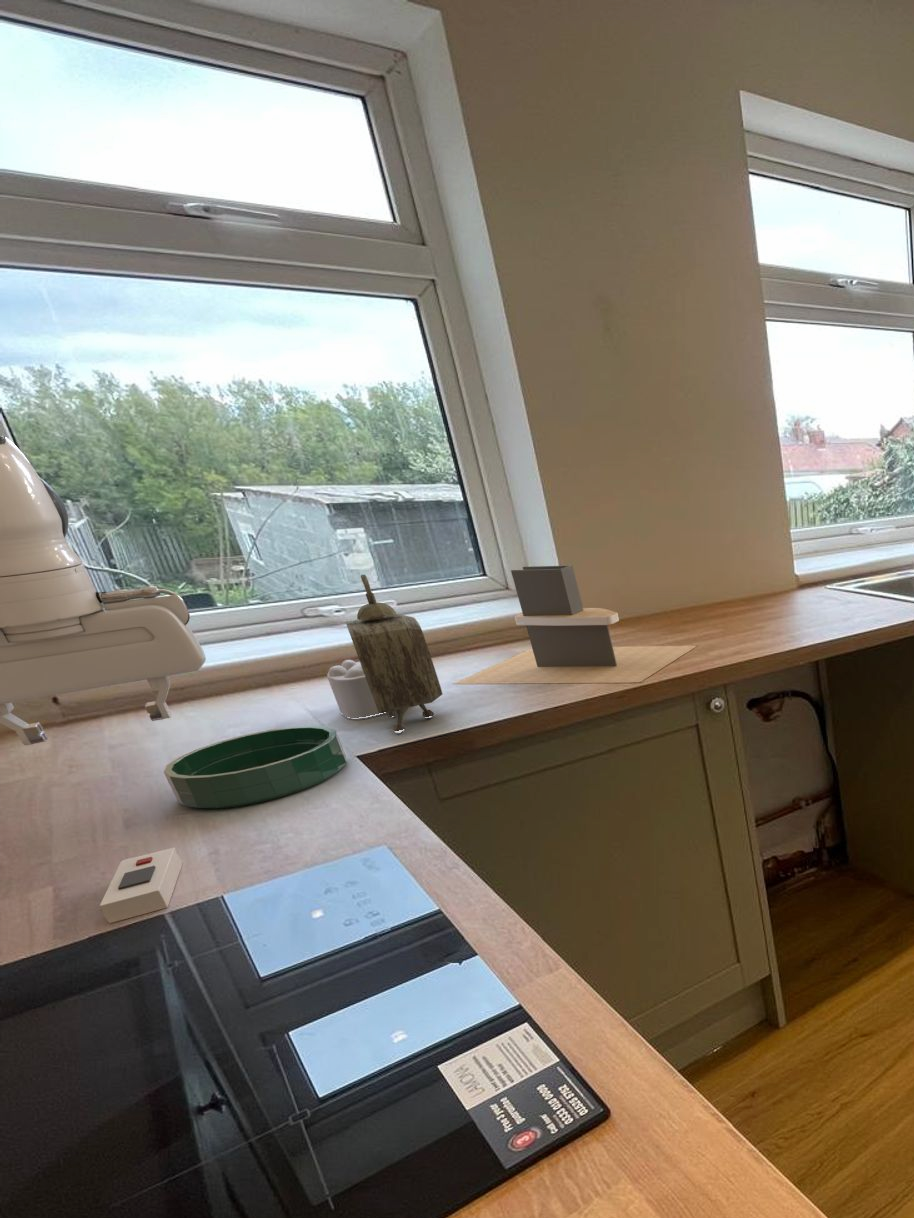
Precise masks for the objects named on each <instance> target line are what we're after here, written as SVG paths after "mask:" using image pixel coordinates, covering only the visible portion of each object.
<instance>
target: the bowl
mask: <svg viewBox="0 0 914 1218" xmlns="http://www.w3.org/2000/svg"><path fill="white" fill-rule="evenodd" d="M345 753H346V752H345V751H344V748H343V745H342V743H341V741H340V738H339V736H338V732H337V731H336V730H335V729H333V728H331V727H329V726H321V725H300V726H298V725H297V726H288V727H281V728H273V729H267V730H262V731H257V732H252V733H248V734H242V735H239V736H236V737H232V738H227V739H224V740H220V741H217V742H214V743H212V744H209V745H205V746H203V747H200V748H196V749H194V750H191V751H190V752H188V753H185V754H182V755H181V756H179V757H176V758H175V759H174V760H172V761H171V762H170V763H168V764H166V766H165V768H164V771H163V774H164V776H165V778H166V780H167V782H168V784H169V786H170V788H171V790H172V792H173V794H174V796H175V799H176V800H177V802H179V804H181V805H182V806H183V807H191V808H197V809H205V810H208V809H209V810H210V809H212V810H213V809H228V808H237V807H243V806H249V805H254V804H255V805H256V804H259V803H263V802H267V801H272V800H276V799H279V798H283V797H287V796H290V795H293V794H295V793H298V792H302V791H304V790H307V789H309V788H311V787H315V786H316V785H318V784H320V783H322V782H324V781H326V780H328V779H330V778H332V777H333V776H334V775H335V774H336V773H338V772H340V770H342V769H343V768H344V766H346V765H347V756H346V754H345Z"/></svg>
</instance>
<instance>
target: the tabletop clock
mask: <svg viewBox="0 0 914 1218" xmlns="http://www.w3.org/2000/svg"><path fill="white" fill-rule="evenodd" d="M360 578H361V582H362V584H363V586H364V590H365V597H366V600H367V602H368V603H366V604H364V605H362V606H361V607H360V608H359V609H358V612H357V615H356V616H357V617H356V619H355V620H350V621H349V620H348V621H345V624H346V628H347V630H348V633H349V635H350V638H351V641H352V644H353V647H354V649H355V652H356V655H357V657H358V662H360V663H361V666H362V669H363V672H364V674H365V677H366V680H367V683H368V685H369V688H370V691H371V694H372V696H373V699H374V702H375V704H376V707H377V710H378V712H379V713H384V712H386V714H385V715H386V716H387V717H388V718H391V717H392V716H396V715H397V716H396V718H397V719H396V722H397V723H396V724H394V725H393V727H392V731H393V732H394V731H399V730H403V729H405V730H406V727H405V726H404V725H403V724H402V723H403V719H404V716H405V713H406V712H407V710H408V709H409V708H408V707H410V708H412V707H417V706H419V707H420V709H421V710H422V717H423V716H424V717H423V718H425V717H429V716H433V715H434V716H435V712H434V711H433V710H431V709H427V707H426V705H427V704H431V703H434V702H435V701H436V700H438V699H439V698H440V697H441V696H442V695H443V690H442V687H441V684H440V681H439V677H438V674H437V671H436V668H435V666H434V661H433V659H432V656H431V653H430V649H429V647H428V644H427V641H426V638H425V635H424V632H423V630H422V629H423V628H422V627H421V625H420V623H419V622H418V620H417V619H416V618H415V617H413V616H409V615H407V614H406V615H405V614H402V613H398V612H397V611H396V610H395V608H393V607H392V606H391V605H388V604H387V603H386V602H385V603H384V602H378V601H377V599H376V596H375V594H374V592H372V588H371V586H370V583H369V579H368V577H367V576H366V574H361V575H360ZM434 716H433V717H434ZM430 719H432V718H429V719H428V720H430Z"/></svg>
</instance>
